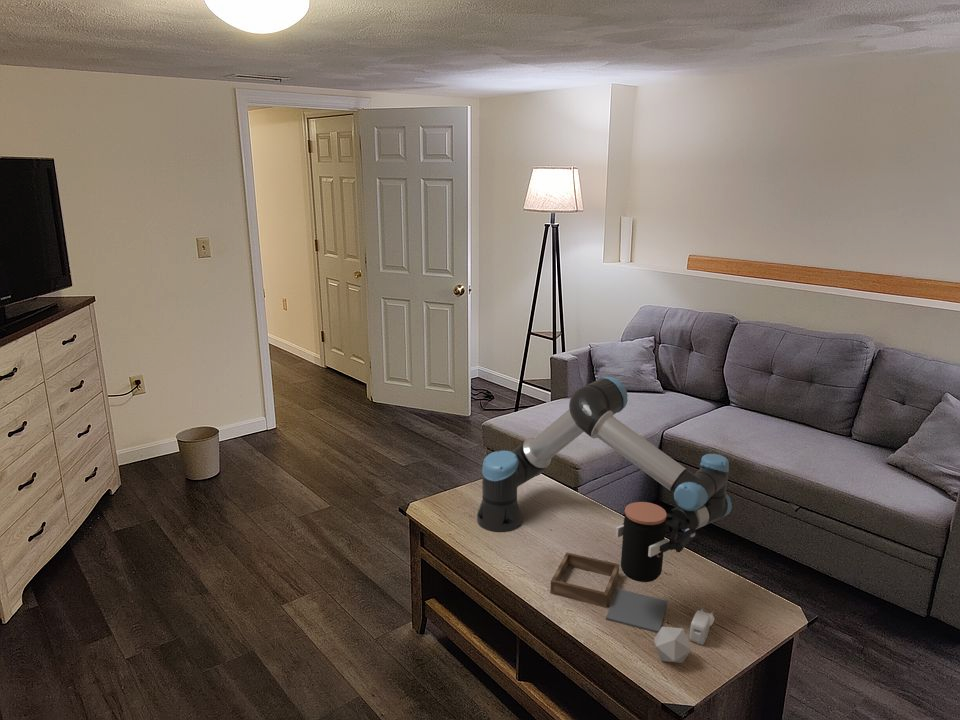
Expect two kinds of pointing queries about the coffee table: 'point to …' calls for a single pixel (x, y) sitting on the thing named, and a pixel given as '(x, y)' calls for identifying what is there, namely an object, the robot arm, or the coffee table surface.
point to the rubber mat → (637, 610)
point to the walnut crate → (582, 592)
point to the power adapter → (701, 626)
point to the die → (672, 644)
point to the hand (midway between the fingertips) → (632, 541)
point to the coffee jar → (642, 541)
